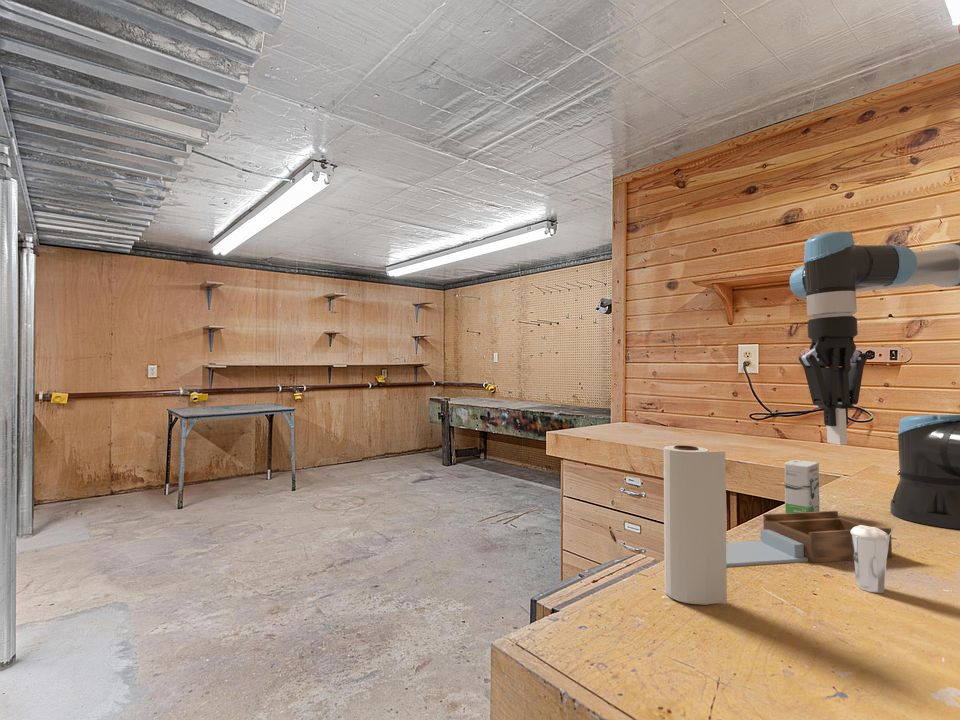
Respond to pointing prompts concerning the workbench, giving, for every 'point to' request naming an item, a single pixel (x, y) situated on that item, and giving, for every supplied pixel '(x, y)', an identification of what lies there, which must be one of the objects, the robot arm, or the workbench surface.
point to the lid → (765, 550)
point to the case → (818, 534)
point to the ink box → (801, 486)
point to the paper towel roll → (695, 525)
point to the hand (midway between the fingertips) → (837, 443)
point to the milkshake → (870, 557)
